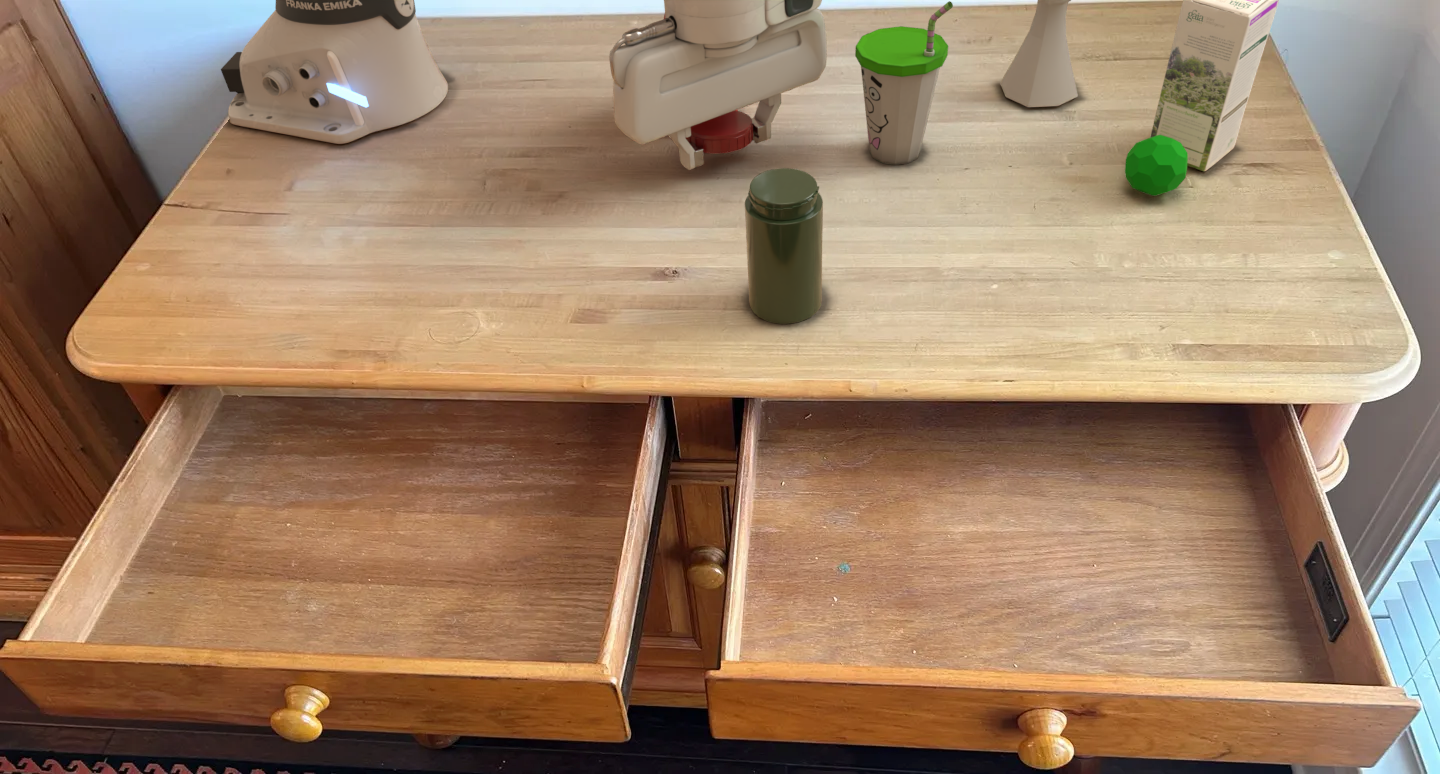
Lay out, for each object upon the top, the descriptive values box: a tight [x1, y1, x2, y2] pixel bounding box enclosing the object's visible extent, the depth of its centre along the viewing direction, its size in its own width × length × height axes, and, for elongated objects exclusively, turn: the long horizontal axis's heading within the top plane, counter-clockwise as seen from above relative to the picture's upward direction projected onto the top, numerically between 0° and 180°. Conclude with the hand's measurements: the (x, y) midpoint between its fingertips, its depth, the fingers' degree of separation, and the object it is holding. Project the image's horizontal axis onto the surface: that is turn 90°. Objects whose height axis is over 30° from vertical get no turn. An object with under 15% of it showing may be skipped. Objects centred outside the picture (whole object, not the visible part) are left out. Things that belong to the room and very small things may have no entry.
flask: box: [999, 0, 1079, 108], centre depth 101 cm, size 7×7×10 cm
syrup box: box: [1149, 0, 1280, 172], centre depth 90 cm, size 6×6×14 cm
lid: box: [686, 110, 753, 155], centre depth 95 cm, size 6×6×2 cm
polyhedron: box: [1124, 135, 1188, 197], centre depth 89 cm, size 5×5×5 cm
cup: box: [854, 1, 954, 166], centre depth 92 cm, size 8×8×15 cm
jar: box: [744, 167, 824, 325], centre depth 78 cm, size 6×6×10 cm
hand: (726, 151), depth 96 cm, fingers closed on lid, 6 cm apart
